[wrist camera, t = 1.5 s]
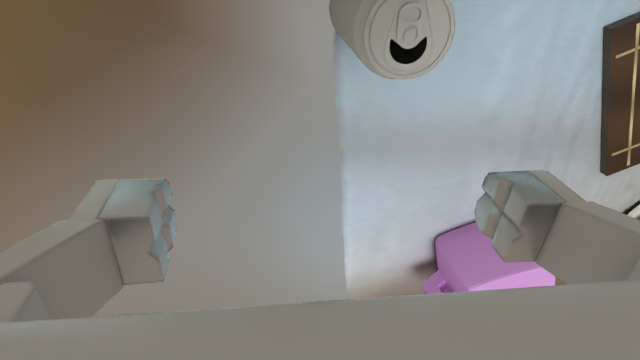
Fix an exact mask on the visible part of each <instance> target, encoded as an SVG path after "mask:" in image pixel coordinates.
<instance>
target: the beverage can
mask: <svg viewBox="0 0 640 360" xmlns="http://www.w3.org/2000/svg"><path fill="white" fill-rule="evenodd" d="M329 9H330V17H331V21H332V23H333V26H334V28H335V30H336V31H337V32H338V34H339V35H340V36H341V37H342V38H343V40H344V41H345V42H346V43H347V44H348V46H349V47H350V48H351V49H352V50H353V52H354V53H355V54H356V55H357V56H358V58H359V59H360V60H361V61H362V62H363V63H364V65H365V66H366V67H367V68H368V69H369V70H371V71H372V72H374V73H375V74H377V75H379V76H381V77H384V78H389V79H411V78H415V77H418V76H421V75H423V74H425V73H427V72H428V71H430V70H431V69H433V68H434V67H435V66H436V65H437V64H438V63H439V62H440V61H441V60H442V58H443V57H444V56H445V54H446V53H447V51H448V49H449V47H450V45H451V42H452V40H453V36H454V32H455V15H454V10H453V7H452V5H451V2H450V1H449V0H330V6H329Z"/></svg>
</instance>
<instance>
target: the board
mask: <svg viewBox="0 0 640 360" xmlns="http://www.w3.org/2000/svg"><path fill="white" fill-rule="evenodd" d="M639 163H640V12H639V13H637V14H635V15H632V16H630V17H627V18H625V19H623V20H620V21H618V22H616V23H613V24H611V25H608V26H606V27H604V48H603V94H602V140H601V173H603V174H604V175H606V176H608V175H611V174H614V173H616V172H619V171H621V170H624V169H627V168H629V167H632V166H634V165H637V164H639Z"/></svg>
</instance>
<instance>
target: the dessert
mask: <svg viewBox="0 0 640 360" xmlns="http://www.w3.org/2000/svg"><path fill="white" fill-rule="evenodd" d="M627 215H628V216H631V217H633V218H636V219H639V220H640V204H639V205H638V206H637V207H636V208H634V209H633V210H632V211H631V212H629V213H628V214H627Z"/></svg>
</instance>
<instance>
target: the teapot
mask: <svg viewBox="0 0 640 360" xmlns="http://www.w3.org/2000/svg"><path fill="white" fill-rule="evenodd" d="M491 243H492V239H491V238H489V237H487V236H486V235H484V234H482V232H481V231H480V230H479V228H478V226H477V224H476V222H475V223H472V224H469V225H466V226H463V227H460V228H457V229H455V230H452V231H449V232H447V233H444V234H442V235H440V236H439V237H437V238H436V240H435V247H436V257H437V265H438V271H436V272H435V273H434V274H433V275H432V276H431V277H430V278H429V279H427V280H426V281H425V282H424V283H423V290H424V294H436V293H442V292H444V293H451V292H466V291H481V290H495V289H510V288H525V287H540V286H555V276H554V275H552V274H551V273H549V272H548V271H546V270H545V269H543V268H542V267H540V266H539V265H538V264H536V263H535V262H504V261H503V260H502V259H501V257H500V256H499V255H498V253H497V252H496V251H495V249H494V248H493V247H492V246H491Z"/></svg>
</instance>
